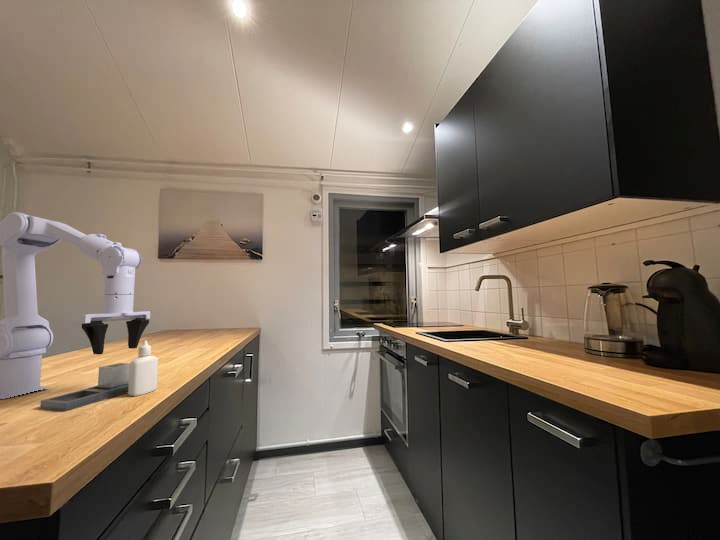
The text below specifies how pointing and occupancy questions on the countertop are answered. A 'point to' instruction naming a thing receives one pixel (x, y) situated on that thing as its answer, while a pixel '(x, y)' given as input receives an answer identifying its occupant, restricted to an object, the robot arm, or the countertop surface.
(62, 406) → the grey flat frame
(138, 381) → the eye dropper bottle
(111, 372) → the block
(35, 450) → the countertop surface
